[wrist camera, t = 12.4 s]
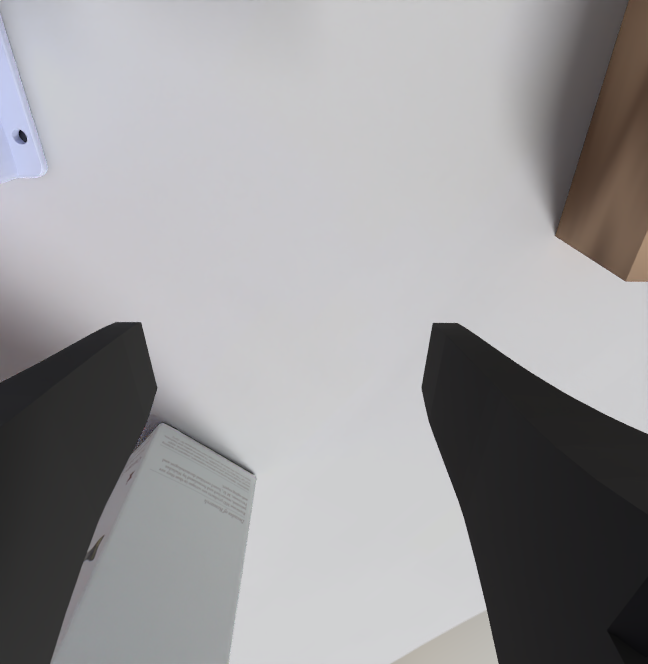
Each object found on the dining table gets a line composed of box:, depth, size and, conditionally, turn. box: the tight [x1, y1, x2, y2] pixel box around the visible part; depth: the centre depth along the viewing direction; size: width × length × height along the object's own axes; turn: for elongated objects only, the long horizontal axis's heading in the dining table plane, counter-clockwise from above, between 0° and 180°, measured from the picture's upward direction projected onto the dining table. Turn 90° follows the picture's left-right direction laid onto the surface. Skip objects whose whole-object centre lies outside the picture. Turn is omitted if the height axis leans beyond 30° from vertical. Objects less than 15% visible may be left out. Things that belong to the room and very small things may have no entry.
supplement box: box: [50, 423, 257, 664], centre depth 21 cm, size 7×7×13 cm
